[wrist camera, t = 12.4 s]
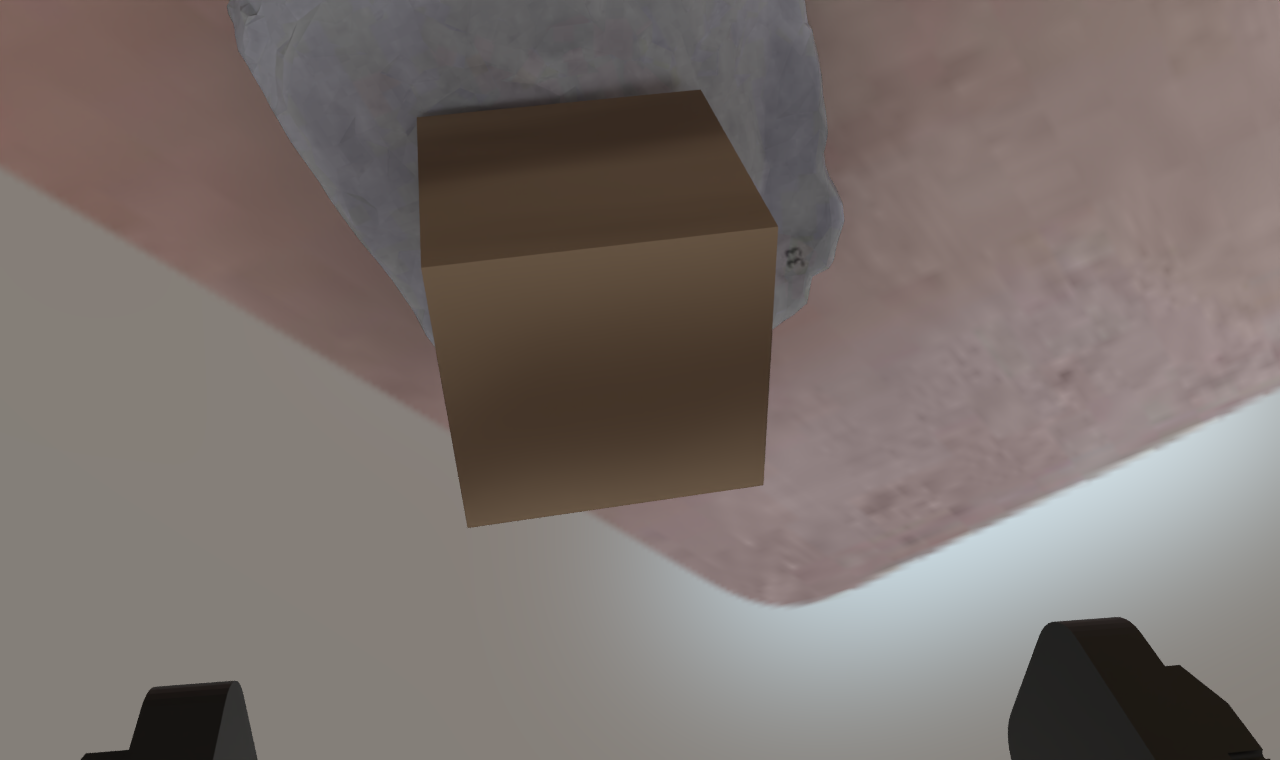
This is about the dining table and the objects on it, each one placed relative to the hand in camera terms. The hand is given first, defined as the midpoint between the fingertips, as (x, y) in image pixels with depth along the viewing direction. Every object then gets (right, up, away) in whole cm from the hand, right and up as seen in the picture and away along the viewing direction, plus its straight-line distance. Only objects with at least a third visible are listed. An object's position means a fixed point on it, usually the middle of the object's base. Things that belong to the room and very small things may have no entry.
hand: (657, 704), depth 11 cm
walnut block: (-2, +6, +10) cm, 11 cm away
